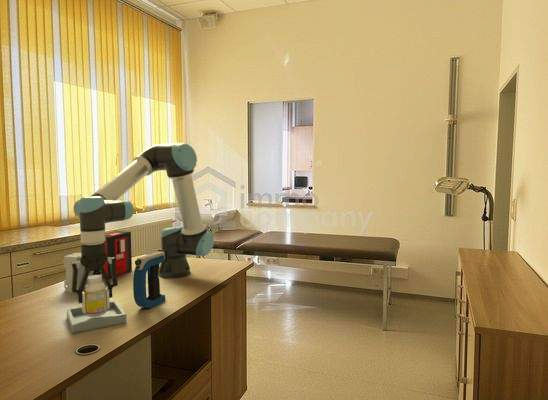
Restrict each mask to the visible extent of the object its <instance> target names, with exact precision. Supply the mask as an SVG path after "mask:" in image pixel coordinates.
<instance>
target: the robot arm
mask: <svg viewBox="0 0 548 400" xmlns="http://www.w3.org/2000/svg"><path fill="white" fill-rule="evenodd" d="M197 162H198V157H197V154H196V151H195V149H194V148H193V147H192V146H191V145H190V144H189V143H185V142H171V143H170V142H169V143H157V144H154V145H151V146H149V147H147V148H146V149H144V150H142V151H141V152H140V153H139V154H138V155H136V156H134V157H133V160H132V162H131V163H130V164H129V165H127V166H126V167H125V168H124V169H123V170H121V171H120V172H119V173H118V174H116V175H115V176H114V177H112V179H110V180H109V181H108V182H106V183H105V184H104V185H103V186H101V187H100V188H99V189H98V190H97V191H95V192H94V193H92V195H90V196H82V197H81V198H79V199H78V200H76V201H75V203H74V205H73V209H72V211H73V213H74V215H75V217H77V218H79V228H80V243H81V244H80V253H81V259H80V261H77V262H72V263H71V265H72V268H73V273H72V288H71V290H72V292H71V293H72V294H77V302H78V303H79V304H81V307H82V312H83V313H86V304H85V293H84V292H83V290H84V287H85V284H86V281H87V278H88V275H89V273H90V271H93V270H100V271H101V274H102V276H103V278H104V279H103V280H104V283H105V285H106V303H107V309H108V308H110V304H109V301H110V299H111V298H113V289H114V288H115V287H118V285H119V284H118V283H119V282H118V277H117V275H116V268H115V263H116V259H115V258H114V257H112V258H110V257H107V255H106V243H105V242H104V241H105V240H106V238H105V233H106V224H108V223H114V222H115V223H116V222H123V221H127V220H130V219H132V217H133V216H134V212H135V211H134V205H133V203H132V202H131V201H130V200H128V199H121V198H122V197H123V196H124V195H125V194H126V193H127V192H128V191H129V190H131V189H132V188H133V187H134V186H136V185H137V184H138V183H139V182H140V181H141V180H143V178H145V177H148V176H150V175H152V174H153V173H155V172H157V171H166V176H167V178H168V179H170V180H171V181H172V186H173V189H174V193H175V197H176V201H177V205H178V209H179V213H180V218H181V222H182V225H179V226H172V227H171V226H170V227H166V228H163V229H162V230H161V233H160V234H161V236H160V239H161V240H160V242H161V243H160V245H161V250H167V257H168V261H167V262H161V263H160V265H159V277H162V278H169V279H171V278H181V277H185V276H188V275H190V274H191V267H190V264H189V260H188V258H187V255H190V256H197V257H206V256H208V254H210V253H211V251H212V249H213V247H214V243H215V237H214V236H215V235H214V233H212V231H208V229H207V225H206V224H205V223H203V222H202V221H203V220H202V217H201V212H200V209H199V203H198V200H197V194H196V191H195V187H194V182H193V177H192V175H193V173H194V172H195V170H194V169H195V168H196V166H197ZM107 261H108V263H109V264H110V269H111V275H112V279H110V280H111V281H110V280H109V278H108V276H107V274H106V272H105V269H104V267H103V266H104V265H105V263H106V262H107ZM80 264H82V265H83V266H84V267H85V269H84V273H83V276H82V279H81V282H80V285H79V288H78V289H77V276H78V268H79V265H80Z"/></svg>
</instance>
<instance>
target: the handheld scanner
mask: <svg viewBox="0 0 548 400" xmlns="http://www.w3.org/2000/svg"><path fill="white" fill-rule="evenodd" d="M167 261H168V257H167V250H162V249H157V252H156V251H155V252H153V253H150V254H146V255H144V256H140V257H137V258H136V260H134V264H135V267H134V271H133V278H132V286H133V287H132V290H133V300H134V302H135V304H136V305H137V306H138V307H139V308H145V309H146V308H147V309H153V308H154V307H156V306H158V305H160V304H162V303H164V302H165V301H166V294H161V286H160V285H161V284H160V281H161V280H160V276H159V267H160V263H161V262H167Z"/></svg>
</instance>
